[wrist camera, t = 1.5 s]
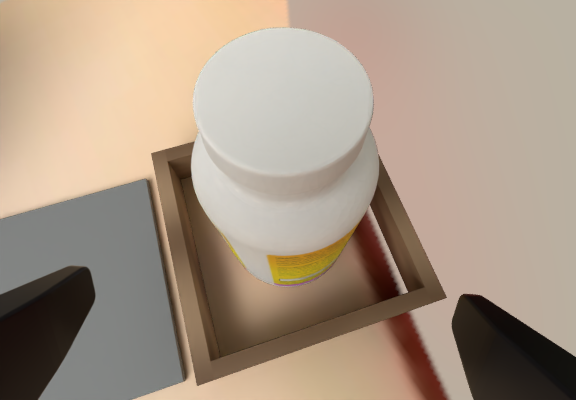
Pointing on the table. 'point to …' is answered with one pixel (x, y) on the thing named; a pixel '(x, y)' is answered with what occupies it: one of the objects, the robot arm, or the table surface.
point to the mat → (102, 290)
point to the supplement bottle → (284, 150)
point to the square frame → (211, 366)
